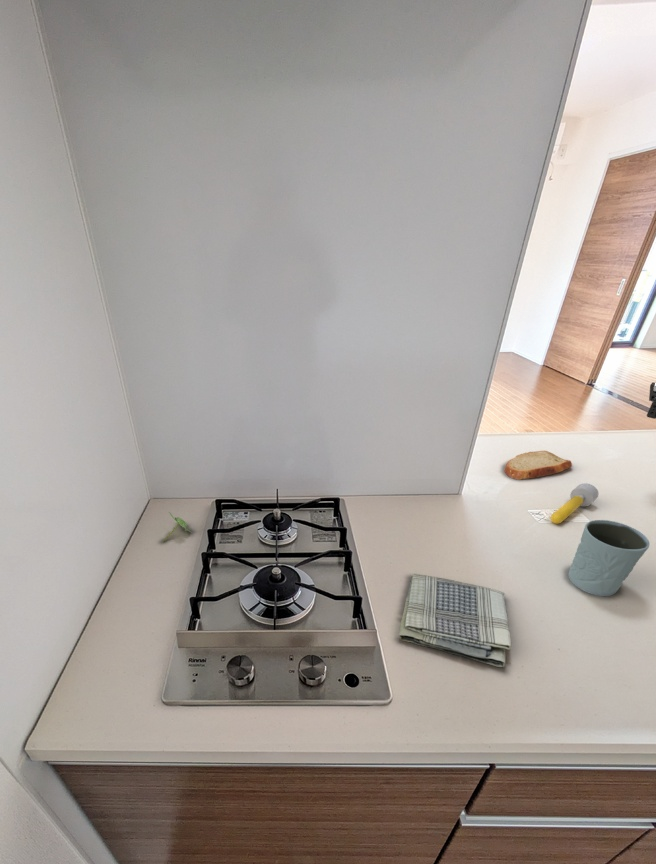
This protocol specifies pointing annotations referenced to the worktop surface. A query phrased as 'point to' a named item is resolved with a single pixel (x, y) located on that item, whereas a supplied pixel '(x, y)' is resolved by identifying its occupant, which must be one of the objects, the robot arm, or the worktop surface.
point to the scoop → (576, 501)
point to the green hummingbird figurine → (179, 521)
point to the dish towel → (456, 619)
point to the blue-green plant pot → (606, 556)
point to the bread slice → (535, 465)
